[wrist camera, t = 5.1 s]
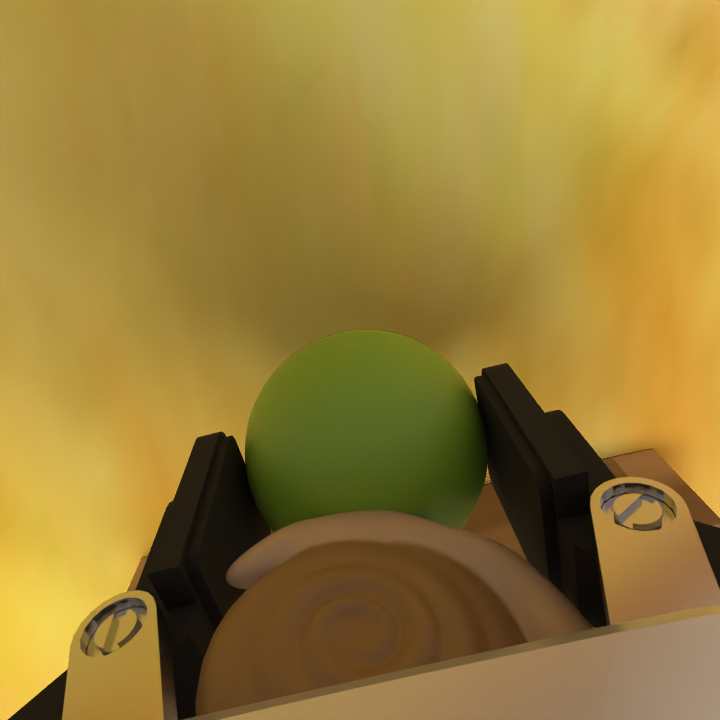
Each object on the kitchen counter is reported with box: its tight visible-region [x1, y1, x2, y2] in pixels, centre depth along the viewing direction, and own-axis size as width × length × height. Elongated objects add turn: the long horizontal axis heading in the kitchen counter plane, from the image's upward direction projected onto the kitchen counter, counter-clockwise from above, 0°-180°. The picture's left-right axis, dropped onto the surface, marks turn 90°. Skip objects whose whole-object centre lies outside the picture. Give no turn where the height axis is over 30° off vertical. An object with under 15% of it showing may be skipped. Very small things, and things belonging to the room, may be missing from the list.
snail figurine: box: [195, 330, 593, 716], centre depth 9 cm, size 5×6×12 cm
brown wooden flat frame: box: [127, 449, 720, 591], centre depth 21 cm, size 12×20×4 cm, turn 103°
